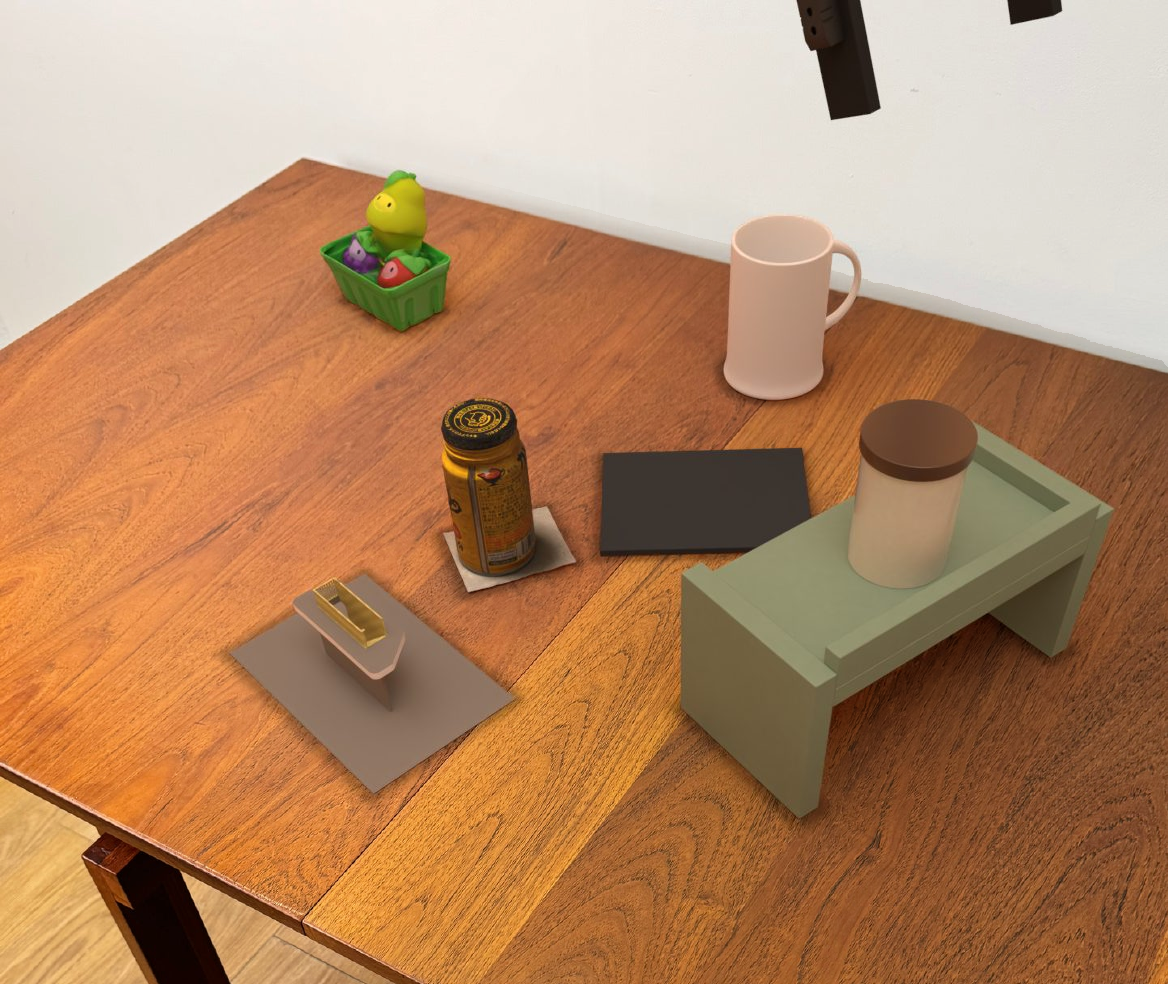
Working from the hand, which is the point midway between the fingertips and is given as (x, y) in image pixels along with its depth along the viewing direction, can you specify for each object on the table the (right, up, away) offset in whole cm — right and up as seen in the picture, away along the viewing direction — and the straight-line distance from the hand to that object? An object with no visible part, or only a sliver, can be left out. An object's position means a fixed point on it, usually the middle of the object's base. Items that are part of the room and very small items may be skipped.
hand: (949, 65), depth 64 cm
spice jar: (+1, -23, +13) cm, 26 cm away
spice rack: (+1, -29, +21) cm, 36 cm away
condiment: (-24, -19, +32) cm, 44 cm away
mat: (-9, -15, +34) cm, 38 cm away
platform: (-34, -29, +24) cm, 51 cm away
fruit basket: (-36, +9, +56) cm, 67 cm away
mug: (-1, -1, +45) cm, 45 cm away
